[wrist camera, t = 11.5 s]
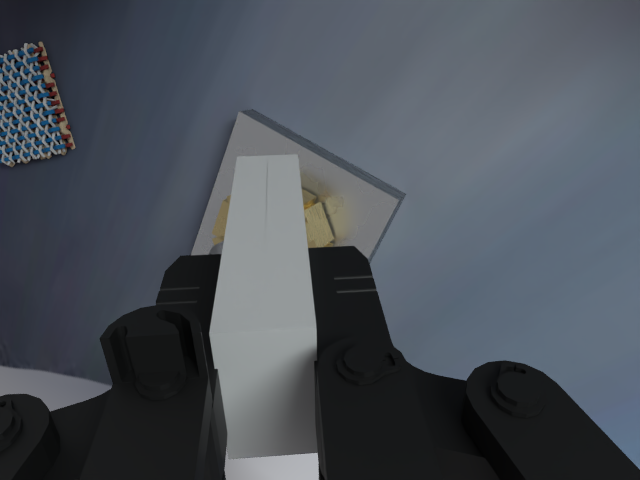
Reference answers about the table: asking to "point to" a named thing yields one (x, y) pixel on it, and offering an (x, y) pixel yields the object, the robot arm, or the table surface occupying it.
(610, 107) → the table surface
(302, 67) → the table surface
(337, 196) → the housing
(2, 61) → the woven mat
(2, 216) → the table surface
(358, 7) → the table surface
